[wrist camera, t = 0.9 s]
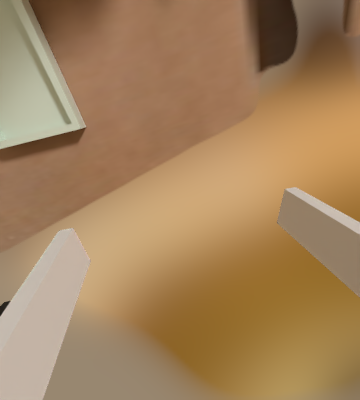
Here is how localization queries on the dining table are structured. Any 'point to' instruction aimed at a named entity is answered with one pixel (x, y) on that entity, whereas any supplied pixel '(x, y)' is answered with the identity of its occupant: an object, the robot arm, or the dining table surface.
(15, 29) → the tray
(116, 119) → the dining table surface
